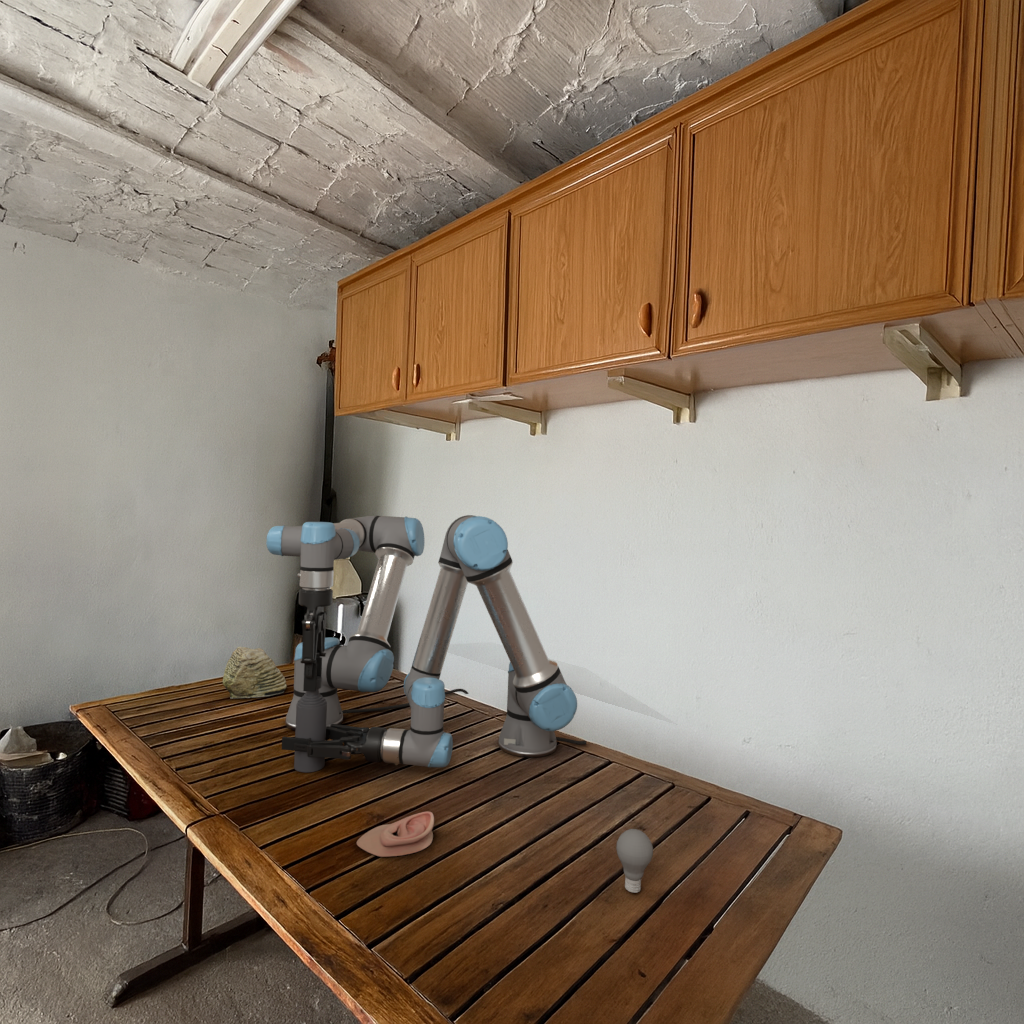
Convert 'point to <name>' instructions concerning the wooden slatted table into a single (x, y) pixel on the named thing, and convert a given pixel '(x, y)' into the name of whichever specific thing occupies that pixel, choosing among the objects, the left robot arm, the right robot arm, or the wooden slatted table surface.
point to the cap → (318, 682)
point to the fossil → (252, 674)
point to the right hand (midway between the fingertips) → (290, 737)
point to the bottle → (310, 728)
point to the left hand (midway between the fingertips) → (312, 687)
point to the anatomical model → (399, 836)
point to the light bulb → (634, 857)
